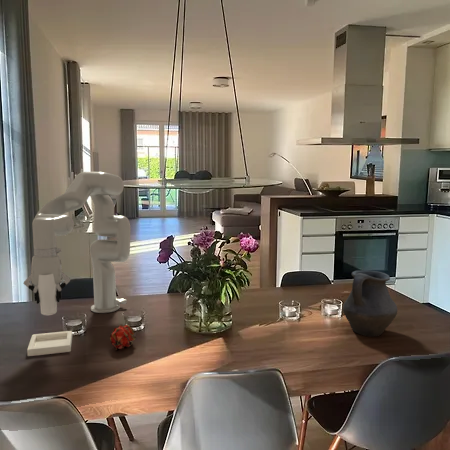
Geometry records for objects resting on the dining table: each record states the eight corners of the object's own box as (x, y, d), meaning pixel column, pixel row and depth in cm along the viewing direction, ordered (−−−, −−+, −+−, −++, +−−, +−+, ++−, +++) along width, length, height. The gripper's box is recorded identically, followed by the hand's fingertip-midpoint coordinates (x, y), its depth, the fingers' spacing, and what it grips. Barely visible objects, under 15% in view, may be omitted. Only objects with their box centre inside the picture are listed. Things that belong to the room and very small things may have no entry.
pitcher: (404, 331, 179) (408, 269, 176) (380, 348, 164) (384, 281, 160) (356, 319, 193) (359, 261, 189) (329, 333, 177) (332, 271, 174)
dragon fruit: (130, 343, 171) (120, 362, 160) (112, 330, 171) (99, 348, 159) (142, 328, 169) (132, 345, 157) (123, 315, 168) (112, 331, 157)
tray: (72, 336, 174) (71, 330, 174) (70, 351, 161) (70, 345, 160) (32, 340, 170) (32, 334, 170) (27, 356, 157) (27, 349, 156)
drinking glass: (63, 311, 166) (60, 271, 163) (50, 317, 159) (47, 275, 157) (47, 309, 168) (45, 269, 166) (34, 315, 161) (32, 274, 159)
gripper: (72, 249, 166) (74, 296, 169) (20, 251, 162) (23, 300, 164) (71, 253, 159) (73, 303, 162) (17, 256, 154) (20, 307, 157)
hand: (48, 301), depth 163 cm, fingers closed on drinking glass, 6 cm apart
